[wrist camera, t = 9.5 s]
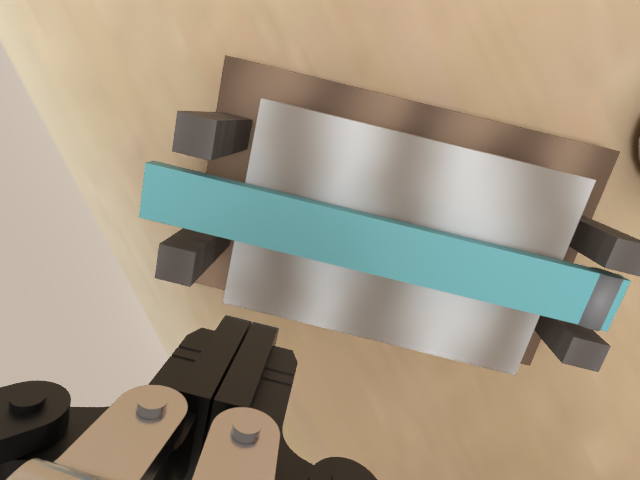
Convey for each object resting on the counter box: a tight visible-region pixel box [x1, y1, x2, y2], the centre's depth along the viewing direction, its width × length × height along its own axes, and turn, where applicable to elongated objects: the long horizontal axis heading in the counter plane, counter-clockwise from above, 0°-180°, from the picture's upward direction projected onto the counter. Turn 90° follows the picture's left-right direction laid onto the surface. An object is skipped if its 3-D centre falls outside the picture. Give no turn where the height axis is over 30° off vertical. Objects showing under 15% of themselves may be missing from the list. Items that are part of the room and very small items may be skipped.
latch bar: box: [139, 161, 631, 332], centre depth 24 cm, size 26×3×2 cm, turn 77°
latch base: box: [155, 55, 640, 375], centre depth 28 cm, size 26×16×10 cm, turn 77°
